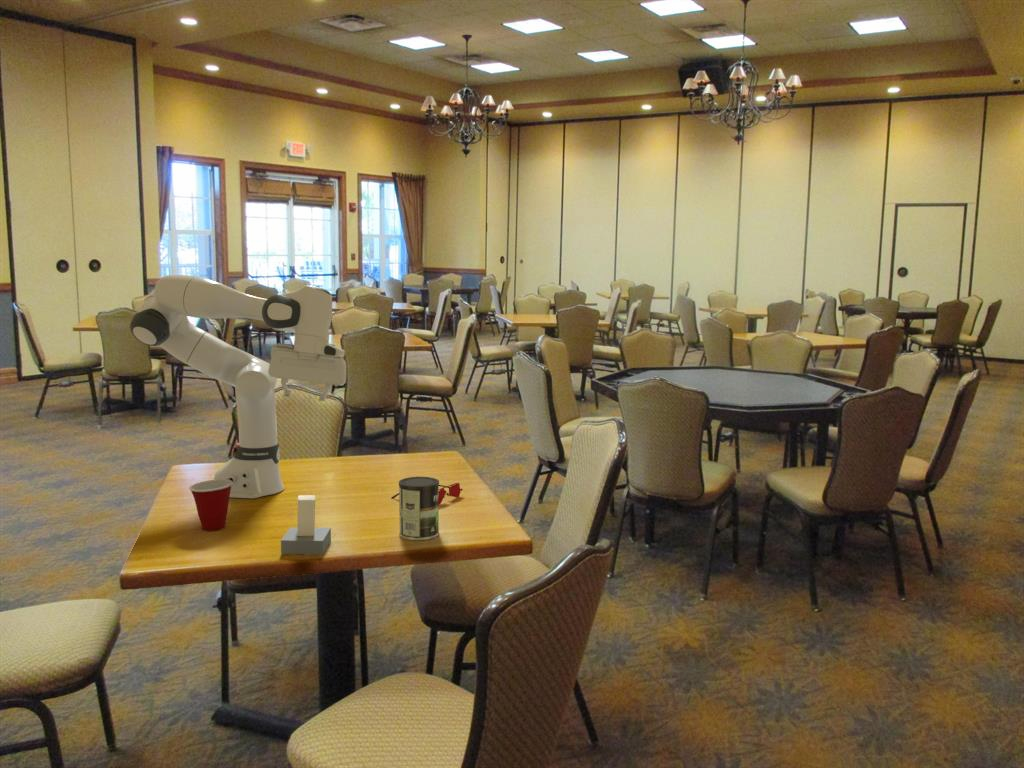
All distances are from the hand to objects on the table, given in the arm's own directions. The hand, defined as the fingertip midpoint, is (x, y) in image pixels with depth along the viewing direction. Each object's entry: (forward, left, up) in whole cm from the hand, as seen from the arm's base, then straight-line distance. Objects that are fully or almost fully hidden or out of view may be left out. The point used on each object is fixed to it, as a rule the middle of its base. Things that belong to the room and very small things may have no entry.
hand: (304, 398), depth 229 cm
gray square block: (+4, -23, -34) cm, 41 cm away
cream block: (+4, -23, -30) cm, 38 cm away
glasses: (+32, +21, -34) cm, 51 cm away
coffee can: (+31, -13, -33) cm, 47 cm away
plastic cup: (-23, -7, -33) cm, 41 cm away
